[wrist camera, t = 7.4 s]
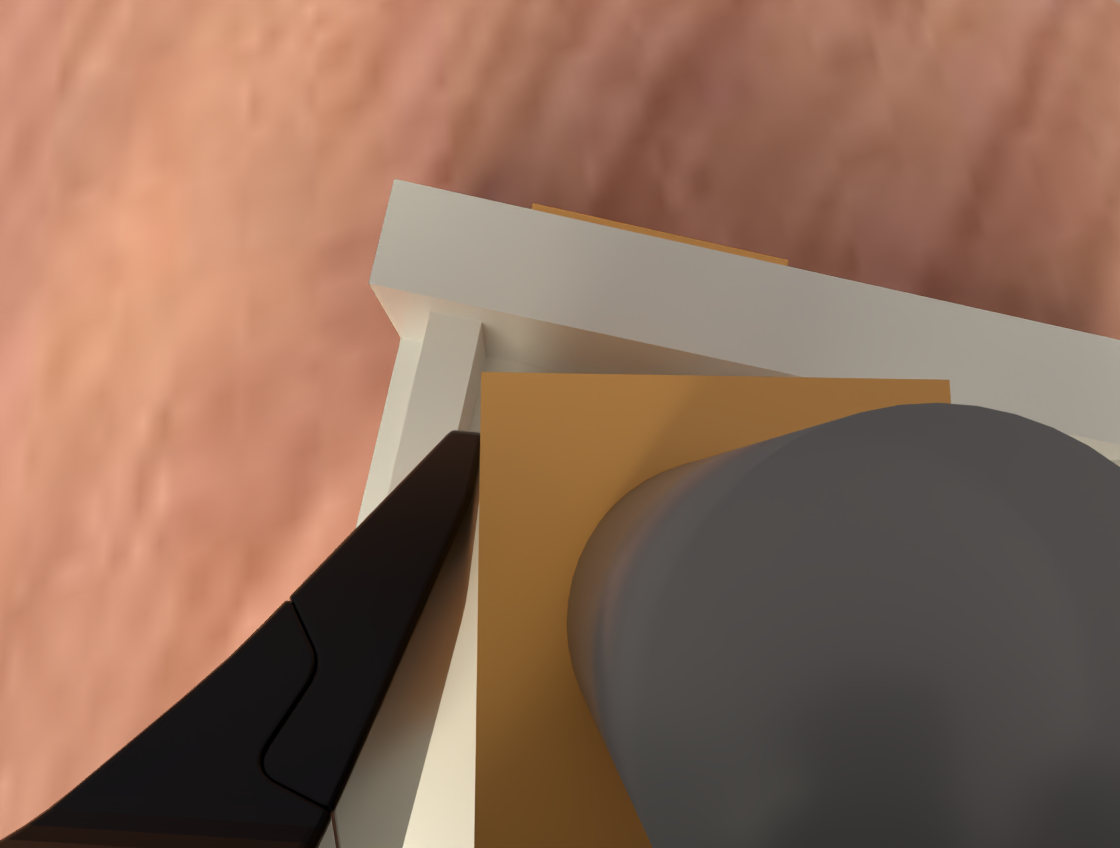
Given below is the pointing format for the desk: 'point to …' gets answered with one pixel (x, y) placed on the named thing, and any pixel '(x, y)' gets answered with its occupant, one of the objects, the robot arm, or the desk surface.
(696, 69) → the desk surface
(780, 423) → the orange plug
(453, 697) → the white ribbed tray
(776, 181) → the desk surface
